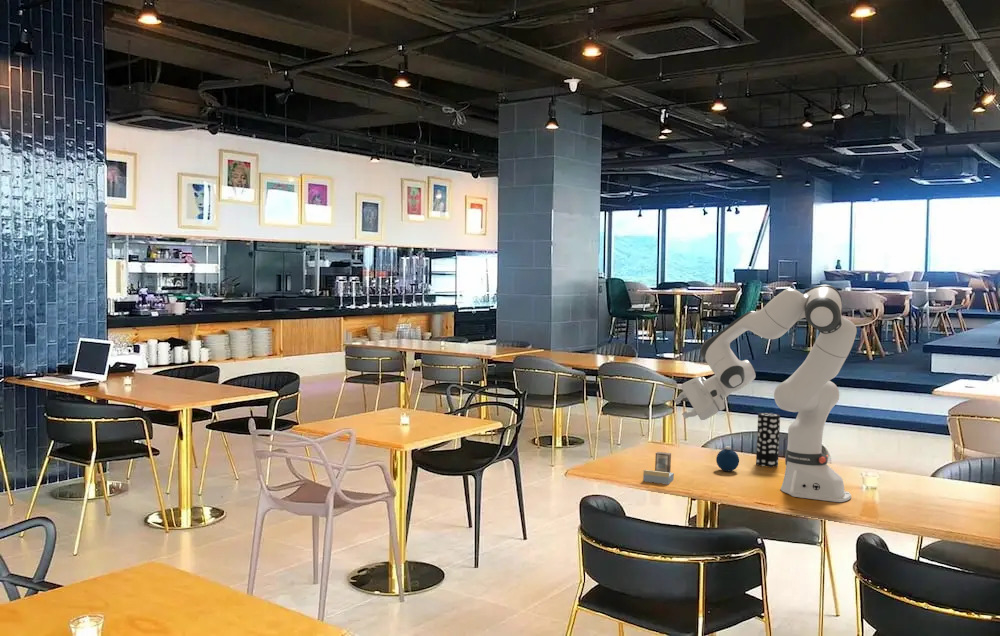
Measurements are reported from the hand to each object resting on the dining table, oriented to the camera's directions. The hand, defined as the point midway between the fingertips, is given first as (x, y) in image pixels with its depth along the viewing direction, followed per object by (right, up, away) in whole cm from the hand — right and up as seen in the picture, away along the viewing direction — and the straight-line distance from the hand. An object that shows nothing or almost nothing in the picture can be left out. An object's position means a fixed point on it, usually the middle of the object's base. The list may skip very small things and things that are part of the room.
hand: (679, 409), depth 305 cm
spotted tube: (+41, -25, +27) cm, 55 cm away
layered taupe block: (-5, -25, +4) cm, 26 cm away
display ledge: (-9, -25, -5) cm, 27 cm away
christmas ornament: (+21, -25, +14) cm, 36 cm away
